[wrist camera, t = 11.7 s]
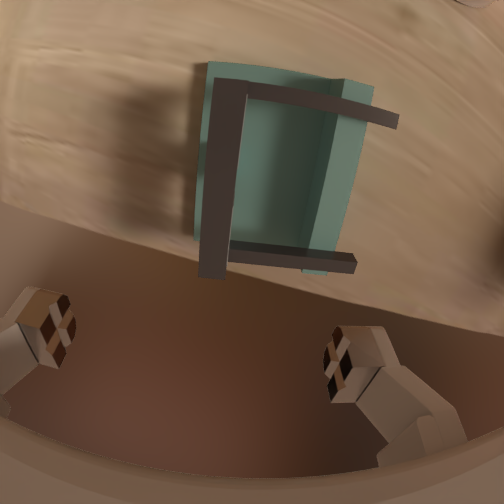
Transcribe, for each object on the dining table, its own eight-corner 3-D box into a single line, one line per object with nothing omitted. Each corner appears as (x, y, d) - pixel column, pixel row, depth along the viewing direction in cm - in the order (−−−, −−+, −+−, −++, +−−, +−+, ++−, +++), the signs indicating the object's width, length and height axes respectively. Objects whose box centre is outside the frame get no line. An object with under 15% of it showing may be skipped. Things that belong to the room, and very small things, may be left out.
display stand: (210, 62, 22) (201, 57, 18) (360, 87, 23) (383, 89, 19) (195, 234, 31) (187, 261, 26) (323, 248, 32) (334, 276, 27)
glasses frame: (219, 79, 19) (213, 77, 15) (390, 112, 20) (416, 119, 16) (203, 249, 26) (197, 277, 22) (348, 264, 27) (361, 291, 23)
